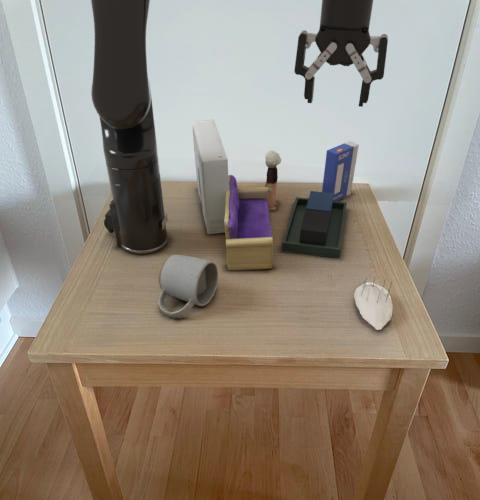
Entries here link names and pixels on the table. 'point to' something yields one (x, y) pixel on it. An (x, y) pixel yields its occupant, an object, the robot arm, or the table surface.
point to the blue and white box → (340, 170)
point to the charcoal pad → (315, 227)
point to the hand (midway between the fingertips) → (335, 103)
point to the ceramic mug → (187, 282)
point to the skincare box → (211, 174)
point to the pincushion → (374, 304)
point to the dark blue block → (320, 201)
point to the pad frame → (333, 236)
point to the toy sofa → (247, 227)
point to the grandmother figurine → (272, 177)
